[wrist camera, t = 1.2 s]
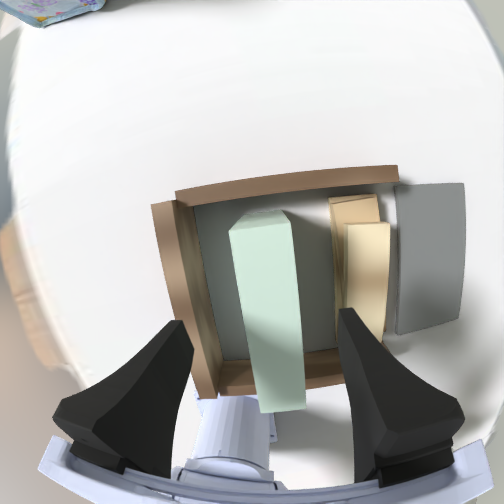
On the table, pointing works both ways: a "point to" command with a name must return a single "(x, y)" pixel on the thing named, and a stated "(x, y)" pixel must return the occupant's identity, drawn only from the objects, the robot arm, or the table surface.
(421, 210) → the mat
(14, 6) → the lunch bag
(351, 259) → the offcuts
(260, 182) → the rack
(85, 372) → the table surface
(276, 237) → the pale green block
